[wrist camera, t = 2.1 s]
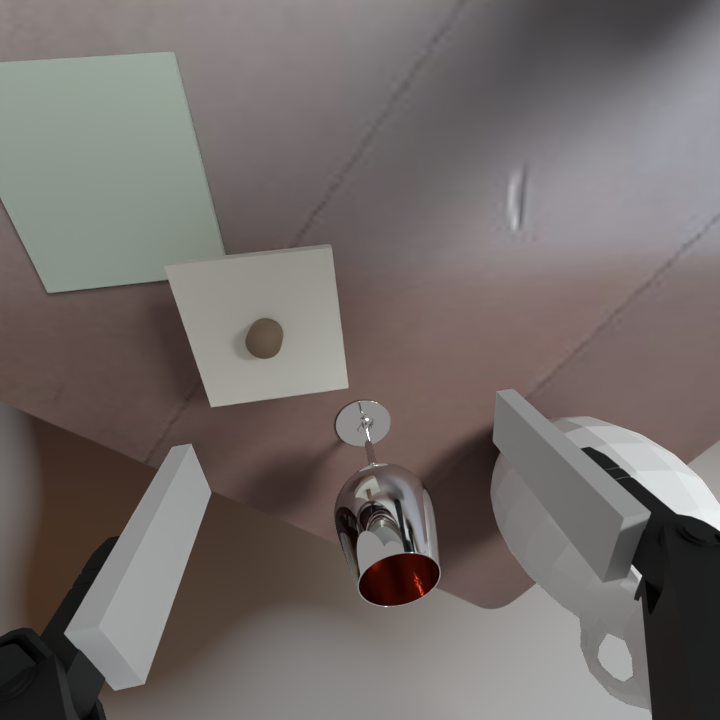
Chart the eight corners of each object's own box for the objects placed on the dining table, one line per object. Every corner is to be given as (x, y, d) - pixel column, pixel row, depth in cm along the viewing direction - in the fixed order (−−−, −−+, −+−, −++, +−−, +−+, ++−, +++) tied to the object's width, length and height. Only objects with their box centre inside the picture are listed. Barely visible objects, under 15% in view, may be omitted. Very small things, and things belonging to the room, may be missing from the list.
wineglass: (393, 385, 37) (456, 526, 21) (401, 443, 41) (460, 601, 24) (321, 401, 37) (327, 556, 20) (335, 457, 40) (350, 627, 24)
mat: (-56, 70, 22) (-66, 66, 22) (175, 55, 23) (172, 51, 23) (52, 291, 29) (48, 293, 28) (230, 271, 30) (228, 272, 29)
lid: (177, 260, 24) (151, 270, 20) (330, 243, 25) (333, 250, 21) (219, 392, 29) (204, 420, 25) (346, 374, 29) (350, 399, 26)
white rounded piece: (589, 359, 39) (968, 573, 16) (612, 462, 47) (889, 701, 24) (445, 431, 41) (607, 712, 18) (490, 518, 49) (642, 789, 26)
